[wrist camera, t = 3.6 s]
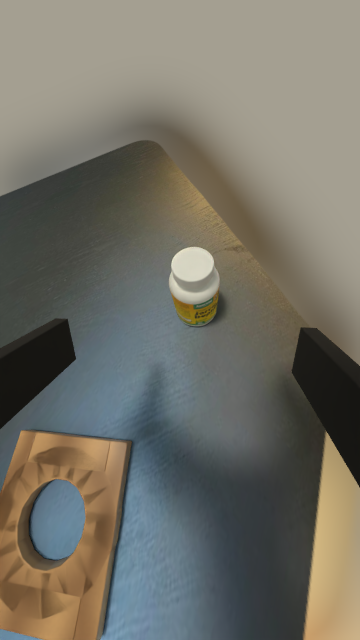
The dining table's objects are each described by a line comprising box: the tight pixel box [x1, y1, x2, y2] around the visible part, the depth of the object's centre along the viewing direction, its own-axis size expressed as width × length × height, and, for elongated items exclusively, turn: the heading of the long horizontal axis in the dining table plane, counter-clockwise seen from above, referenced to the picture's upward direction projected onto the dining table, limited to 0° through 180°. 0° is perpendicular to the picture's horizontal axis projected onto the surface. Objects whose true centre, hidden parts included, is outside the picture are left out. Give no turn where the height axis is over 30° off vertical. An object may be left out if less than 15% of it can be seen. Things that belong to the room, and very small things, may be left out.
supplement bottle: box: [169, 247, 220, 326], centre depth 25 cm, size 5×5×10 cm
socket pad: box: [0, 430, 132, 640], centre depth 21 cm, size 12×14×2 cm
